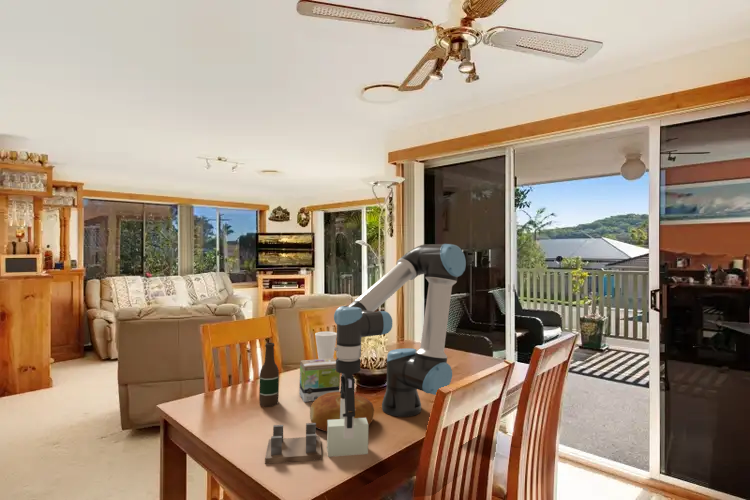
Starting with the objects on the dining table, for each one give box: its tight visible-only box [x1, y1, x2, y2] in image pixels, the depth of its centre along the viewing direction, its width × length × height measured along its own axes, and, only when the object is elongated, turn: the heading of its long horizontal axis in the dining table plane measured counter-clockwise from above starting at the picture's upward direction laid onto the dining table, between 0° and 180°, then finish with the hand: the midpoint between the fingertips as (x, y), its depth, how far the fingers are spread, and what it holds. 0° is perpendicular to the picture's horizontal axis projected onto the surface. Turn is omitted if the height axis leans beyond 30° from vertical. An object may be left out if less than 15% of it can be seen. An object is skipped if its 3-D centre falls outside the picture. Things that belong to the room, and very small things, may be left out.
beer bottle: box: [258, 342, 280, 408], centre depth 163 cm, size 8×8×24 cm
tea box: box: [298, 357, 341, 403], centre depth 171 cm, size 15×10×15 cm, turn 111°
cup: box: [314, 331, 337, 359], centre depth 222 cm, size 12×12×16 cm
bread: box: [309, 391, 375, 432], centre depth 146 cm, size 23×23×10 cm
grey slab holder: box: [264, 422, 322, 465], centre depth 124 cm, size 16×12×6 cm
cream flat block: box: [326, 418, 369, 458], centre depth 125 cm, size 12×5×9 cm, turn 99°
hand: (346, 428), depth 125 cm, fingers open, 13 cm apart
